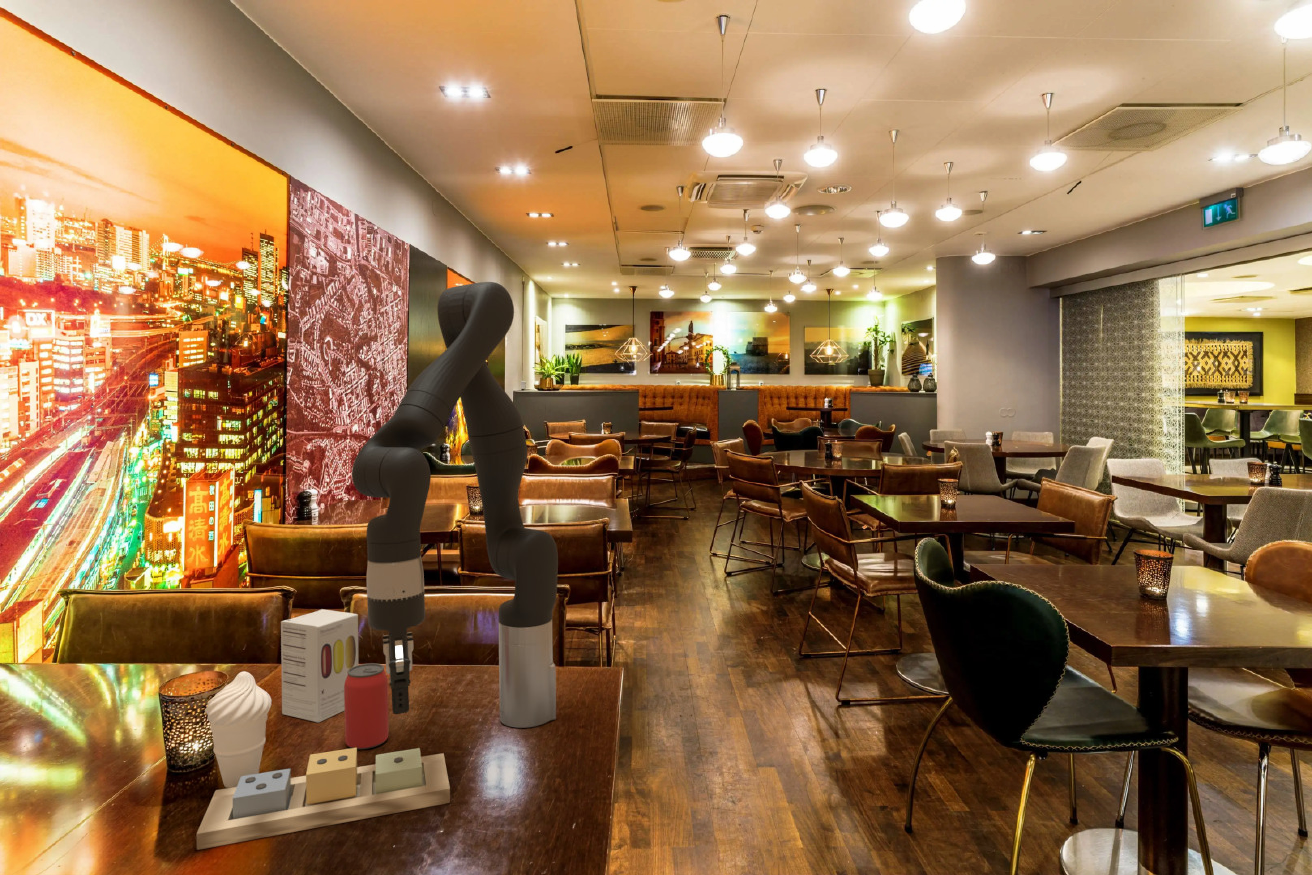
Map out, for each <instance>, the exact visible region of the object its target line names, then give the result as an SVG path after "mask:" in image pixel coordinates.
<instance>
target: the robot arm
mask: <svg viewBox="0 0 1312 875" xmlns="http://www.w3.org/2000/svg"><path fill="white" fill-rule="evenodd" d="M436 308H437V320H438V324H439V325H438V326H439V329H440V333H441V336H442V339H443V343H444V345H445V351H443V353H441V354H440V355H439V356H438V357H436V358H435V360H434V361H432V362H431V363H430V364H428V366H427V367H425V368H424V369H423V370H422V372H421V373H419V374H418V375H417V377H416V378H415V379H414V380H413V382H411V384H410V385H409V387H408V388H407V391H406V392H405V394H404V396H403V398H402V399H401V401H400V402H399V404H398V406H397V408H396V409H395V412H394V414H393V415H392V416H391V418H389V420H388V421H386V422H385V423H384V424H383V425H382V426H380V428H379V429H378V430H377V431H376V432H375V433H374V434H373V435H372V436H371V437H370V438H369V439H368V440H367V441H366V443H365V444H363V446H362V447H361V449H359V451H358V453H357V455H356V457H355V458H354V460H353V461H354V462H353V463H352V470H351V478H352V483H353V486H354V487H355V489H356V490H357V491H358V492H359V493H360V494H361V495H364V496H365V497H369V498H380V499H381V498H383V499H384V498H387V499H389V502H388V506H387V510H386V513H385V514H381V515H378V516H375V517H372V518H371V519H370V520H369V521H368V523H367V526H366V549H367V552H366V553H367V554H366V555H367V568H366V601H367V620H368V621H367V622H368V626H369V627H370V628H371V629H373V630H377V631H387V632H388V634H386V635H382V647H383V648H382V649H383V650H382V651H383V652H382V653H383V654H384V656H385V673H386V675H389V678H388V681H389V682H388V684H389V685H388V686H389V687H390V689H391V706H392V707H391V710H392V713H393V714H394V715H401V714H406V713H408V712H409V711H410V697H409V696H410V695H409V694H410V693H409V687H410V685H411V679H410V672H412V670H413V653H412V652H413V651H414V638H413V632H412V631H410V632H407V630H408V629H409V628H411V627H416V626H418V625H420V624H422V623H423V622H424V620H426V619H425V618H426V604H425V603H426V602H425V601H426V600H425V578H424V576H425V575H424V574H425V573H424V566H423V561H422V549H421V548H422V547H421V546H422V542H421V525H422V521H423V516H424V512H425V507H426V503H427V499H428V494H429V491H430V486H431V476H432V475H431V474H432V473H431V468H430V464H429V462H428V460H427V458H426V456H425V454H423V452H421V451H420V449H421V450H422V449H425V448H427V447H430V446H432V445H433V444H435V443H436V442H437V440H438V439H439V437H440V436H441V433H442V432H443V430H444V428H445V426H446V424H447V423H448V421H449V418H450V416H451V414H452V413H453V410H454V409H455V406H456V405H457V403H458V401H459V400H460V402H461V406H462V411H463V414H464V416H463V417H464V420H465V421H464V422H465V426H466V431H467V437H468V442H469V447H470V451H471V456H472V460H473V463H474V464H473V465H474V468H475V471H476V472H475V474H476V477H477V482H478V489H479V494H480V499H481V504H482V511H483V521H484V530H485V541H486V549H487V556H488V560H489V563H490V566H491V568H492V570H493V572H494V573H495V574H496V575H498V576H499V577H501V578H503V579H506V580H510V581H515V582H514V583H515V584H514V596H513V598H511V599H509V600H506V601H504V602H502V603H501V604H500V606H498V656H499V657H498V668H499V669H498V673H499V674H498V675H499V682H498V684H499V688H498V689H499V690H498V691H499V707H498V708H499V721H500V722H501V723H502V725H505V726H507V727H511V728H517V729H519V728H520V729H522V728H525V729H526V728H532V727H538V726H541V725H544V724H546V723H548V722H550V721H554V720H555V721H556V720H557V688H556V687H557V684H556V682H557V678H556V676H557V675H556V673H557V671H556V664H555V663H554V660H553V658H554V656H553V654H554V653H553V610H554V607H555V603H556V602H557V601H556V600H557V594H558V592H557V591H558V575H559V574H558V572H559V571H558V570H559V554H558V547H557V543H556V541H555V539H554V538H553V536H552V535H551V534H550V533H549V532H546V531H544V530H541V529H534V528H533V529H532V528H527V527H525V525H524V522H523V518H522V514H521V509H520V504H519V503H520V502H519V493H520V491H519V490H520V486H521V482H522V478H523V476H524V472H525V469H526V465H527V460H528V458H527V457H528V446H527V445H528V444H527V440H526V435H525V429H524V425H523V419H522V416H521V413H520V411H519V409H518V408H517V406H516V405H515V403H514V402H513V400H512V399H511V397H510V396H509V395H508V393H507V392H506V391H505V390H504V389H503V387H502V386H501V384H500V383H499V382H498V381H497V379H496V378H495V376H494V375H493V374H492V372H491V370H490V368H489V366H488V363H487V360H488V359H489V358H490V356H491V354H492V353H493V352H494V351H495V349H496V348H497V347H498V346H499V344H500V343H501V342H502V341H503V339H504V338H505V336H506V335H507V333H509V330H510V328H511V326H512V324H513V320H514V316H515V308H514V303H513V299H512V297H511V295H510V293H509V291H508V290H507V289H506V288H505V287H504V286H503V285H502V284H500V283H498V282H493V281H480V282H475V283H468V284H463V285H458V286H456V285H455V286H452V287H449V288H446V289H445V290H443V291H442V292H441V294H440V296H439V297H438V303H437V307H436Z"/></svg>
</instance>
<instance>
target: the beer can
mask: <svg viewBox="0 0 1312 875" xmlns="http://www.w3.org/2000/svg"><path fill="white" fill-rule="evenodd" d="M347 673H348V675H347V678H346V680H345V684H344V707H345V710H344V741H345V742H344V743H345V744H346V746H347V747H349V749H350V748H357V750H369V749H372V748H375V747H379V746H380V745H382V744H383V743H385V742H386V741H387V740H388V737H389V734H390V732H389V685H388V684H389V682H388V681H389V678H388V674H387V672H386V670H385V666H384V665H383V664H381V663H373V662H372V663H371V662H370V663H362V664H358V665H357V666H354V667H352V668H350V669H349V670H348V672H347Z"/></svg>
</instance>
